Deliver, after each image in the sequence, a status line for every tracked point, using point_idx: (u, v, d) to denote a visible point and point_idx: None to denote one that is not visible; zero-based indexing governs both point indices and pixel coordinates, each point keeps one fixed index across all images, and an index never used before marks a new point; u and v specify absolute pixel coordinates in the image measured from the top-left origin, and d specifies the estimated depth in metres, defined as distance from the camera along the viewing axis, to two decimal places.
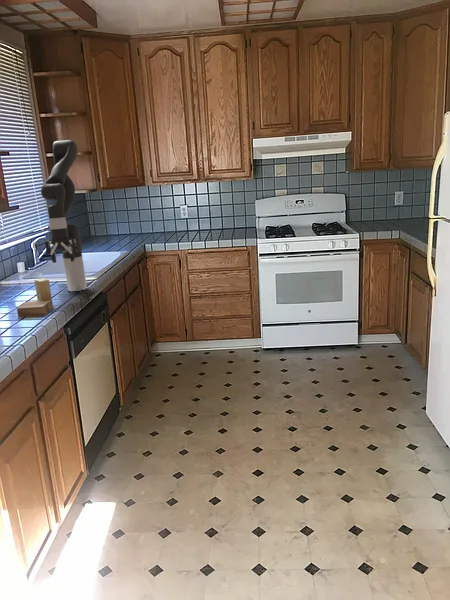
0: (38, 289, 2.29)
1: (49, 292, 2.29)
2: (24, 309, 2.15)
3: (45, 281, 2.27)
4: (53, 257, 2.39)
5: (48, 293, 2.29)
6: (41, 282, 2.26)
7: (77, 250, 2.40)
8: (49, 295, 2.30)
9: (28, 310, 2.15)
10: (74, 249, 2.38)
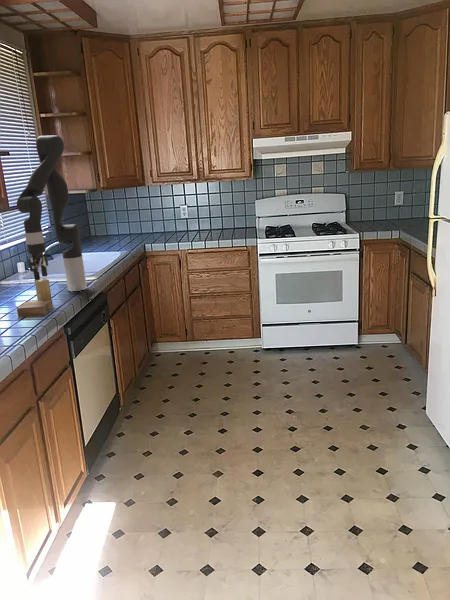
0: (38, 289, 2.29)
1: (49, 292, 2.29)
2: (24, 309, 2.15)
3: (45, 281, 2.27)
4: None
5: (48, 293, 2.29)
6: (41, 282, 2.26)
7: None
8: (49, 295, 2.30)
9: (28, 310, 2.15)
10: (47, 263, 2.33)
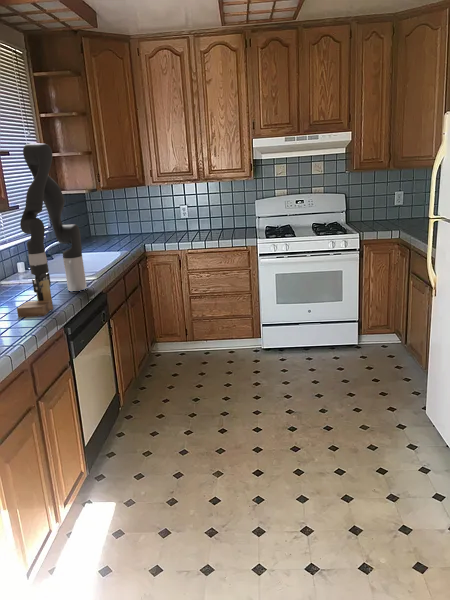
0: None
1: (49, 292, 2.29)
2: (24, 309, 2.15)
3: (45, 281, 2.27)
4: (42, 294, 2.27)
5: (48, 293, 2.29)
6: (41, 282, 2.26)
7: None
8: (49, 295, 2.30)
9: (28, 310, 2.15)
10: (50, 283, 2.36)
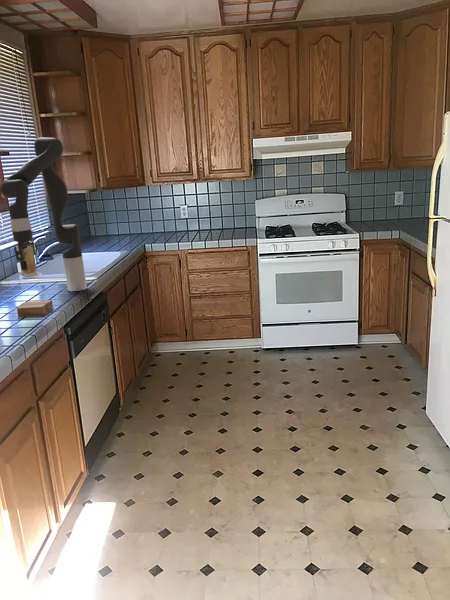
0: None
1: (33, 261, 2.14)
2: (24, 309, 2.15)
3: (29, 249, 2.11)
4: None
5: (32, 262, 2.13)
6: (24, 250, 2.10)
7: None
8: (33, 264, 2.14)
9: (28, 310, 2.15)
10: (34, 252, 2.20)
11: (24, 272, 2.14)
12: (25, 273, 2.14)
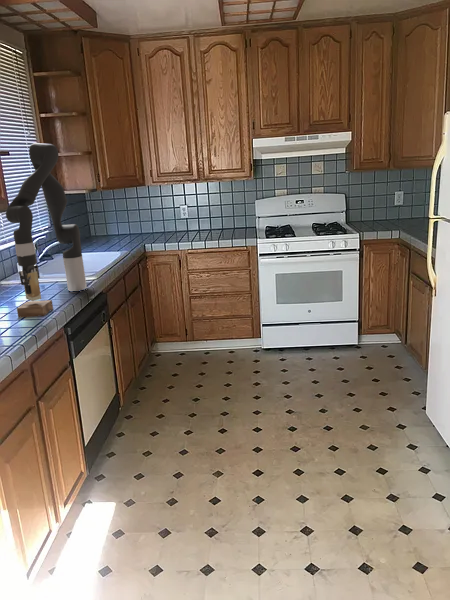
0: None
1: (37, 285, 2.16)
2: (24, 309, 2.15)
3: (33, 273, 2.14)
4: (30, 287, 2.14)
5: (37, 286, 2.16)
6: (29, 274, 2.13)
7: None
8: (37, 288, 2.16)
9: (28, 310, 2.15)
10: (38, 275, 2.23)
11: (28, 296, 2.17)
12: (29, 297, 2.16)
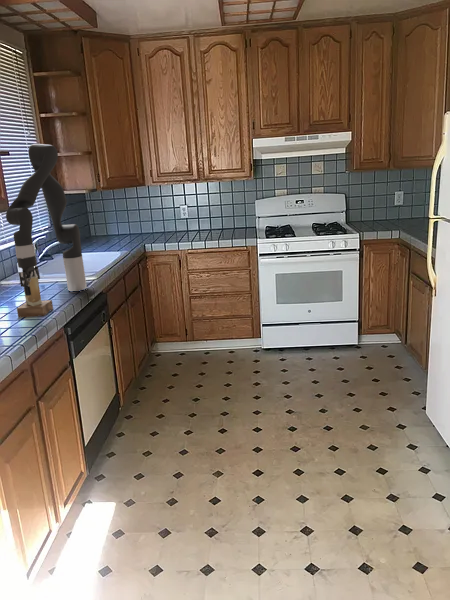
0: None
1: (38, 290, 2.17)
2: (24, 309, 2.15)
3: (34, 278, 2.15)
4: None
5: (37, 291, 2.16)
6: None
7: None
8: (38, 293, 2.17)
9: (28, 310, 2.15)
10: (39, 276, 2.23)
11: (28, 301, 2.17)
12: (30, 302, 2.17)
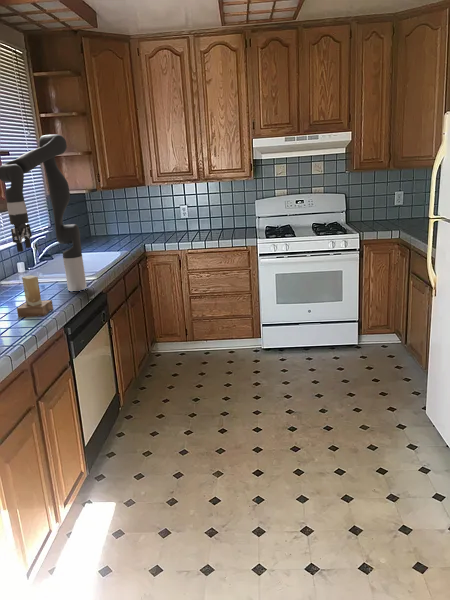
0: (26, 287, 2.16)
1: (38, 290, 2.17)
2: (24, 309, 2.15)
3: (34, 278, 2.14)
4: None
5: (37, 291, 2.16)
6: (29, 279, 2.13)
7: None
8: (38, 293, 2.17)
9: (28, 310, 2.15)
10: (31, 234, 2.27)
11: (28, 301, 2.17)
12: (30, 302, 2.17)
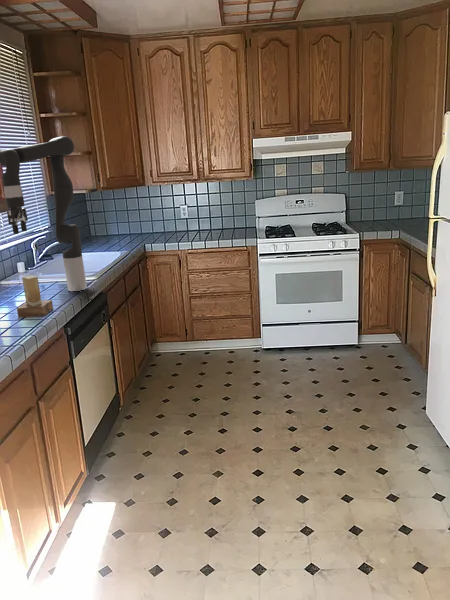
0: (26, 287, 2.16)
1: (38, 290, 2.17)
2: (24, 309, 2.15)
3: (34, 278, 2.14)
4: (17, 227, 2.26)
5: (37, 291, 2.16)
6: (29, 279, 2.13)
7: None
8: (38, 293, 2.17)
9: (28, 310, 2.15)
10: (26, 218, 2.36)
11: (28, 301, 2.17)
12: (30, 302, 2.17)
